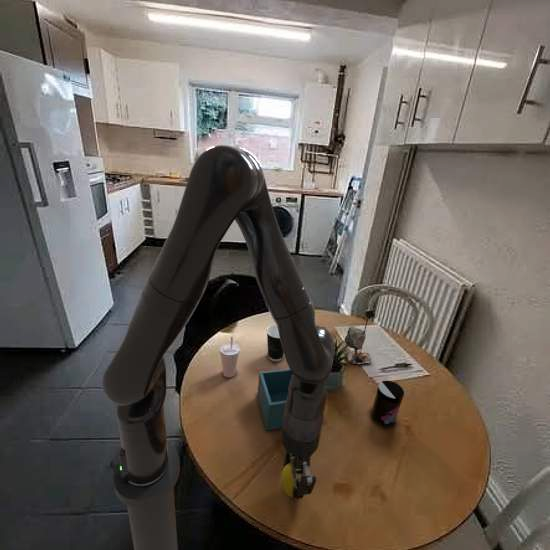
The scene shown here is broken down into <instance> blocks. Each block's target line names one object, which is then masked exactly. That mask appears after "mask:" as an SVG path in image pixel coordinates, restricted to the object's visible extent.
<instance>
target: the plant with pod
mask: <svg viewBox="0 0 550 550" xmlns="http://www.w3.org/2000/svg"><path fill="white" fill-rule="evenodd" d="M364 314H365V318H366V321H365V325H364V330H363V329H361V328H358V327H355V326H351V324H349V326H350V327H348V329H347V332H346V336H345V337H344V343H345V346H344V347H343V348H342V349H341V351H342V350H343V352H344V351H345V350H346V349H347V348H350V349H354V350H352V351H347V352H346V359H347V360H348V361H347V362H348V363H351V364H354V365H356V364H357V365H361V364H367V363H368V364H371V363H372V358H371V356H370V354H369V353H368V352H365V351H363V350H362V349H363V347H364V344H365V341H366V338H367V337H366V336H367V335H366V330H367V326H368V325H367V324H368V323H369V322H368V321H369V320H370V319H372V318H373V319H374V320H376V317H375V316H376V313H375V310H374V308H369V309H366V310H365V311H364Z"/></svg>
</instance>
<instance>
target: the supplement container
mask: <svg viewBox="0 0 550 550" xmlns="http://www.w3.org/2000/svg"><path fill="white" fill-rule="evenodd" d="M377 385H378V386H377V390H376V394H375V397H374V401H373V405H372V409H371V416H372V418H373V419H374V421H375V422H376V423H378V424H379V425H381V426H386V427H390V426H392V425H394V424H395V423H396V420H397V418H398V414H399V412H400V408H401V405H402V401H403V399H404V397H405V391H404V389H403V387H402V386H401V385H399V384H398V383H396V382H395V381H392V380H382V381H380V382H379V383H378V384H377Z"/></svg>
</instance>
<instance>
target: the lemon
mask: <svg viewBox="0 0 550 550" xmlns="http://www.w3.org/2000/svg"><path fill="white" fill-rule="evenodd" d="M296 470H301V469H296ZM279 481H280V486H281V489H282V491H283V493H284V494H285V495H286V496H288V497H290V498H293V495H292V493H293V487H294V477H293V475H292V471H291V463H288V464H287V465H286V466H285V467H283V468H282V471H281V473H280V480H279ZM298 481H300V478H298Z"/></svg>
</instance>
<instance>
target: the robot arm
mask: <svg viewBox="0 0 550 550" xmlns="http://www.w3.org/2000/svg"><path fill="white" fill-rule="evenodd" d="M234 222H235V223H236V224H237V226H238V228H239V230H240V232H241V234H242V236H243V238H244V242H245V245H246V247H247V250H248V253H249V256H250V260H251V265H252V268H253V274H254V278H255V280H256V283H257V286H258V289H259V292H260V295H261V297H262V299H263V301H264V303H265V305H266V307H267V309H268V311H269V313H270V315H271V317H272V319H273V321H274V323H275V325H277V328H278V332H279V337H280V341H281V344H282V348H283V352H284V354H283V356H284V358H285V361H286V364H287V366H288V369H290V370H291V371H292V373H293V375H292V378H291V381H290V384H289V388H288V395H287V403H286V406H285V410H284V416H283V424H282V428H281V432H280V433H281V434H280V441H281V444H282V447H283V448H284V452H283V453H284V456H285V457H284V463H283V466H284V467H285V466H286V465H287V464H288V463H291V471H292V475H293V477H294V487H293V493H292V495H293V497H292V498H293V499H295V500H299V499H303V498H304V496H307V495H312V493H313V490H314V487H315V485H316V482H317V476H316V475H315V474H311V458H312V456H313V455H314V454H315V453H316V451H317V450H318V448H319V444H320V439H321V434H322V428H323V424H324V413H323V411H324V412H325V407H326V402H327V396H326V391H327V392H328V379H329V376H330V374H331V372H332V370H333V364H334V357H335V351H336V342H335V340H334V337H333V334H332V333H331V332H330V331H329V330H328V329H327V328H326V327H325V326H321V325H316V309H315V305H314V302H313V300H312V299H311V296H310V294H309V291H308V290H307V287H306V285H305V283H304V280H303V278H302V276H301V274H300V272H299V270H298V268H297V266H296V264H295V261H294V259H293V256H292V254H291V252H290V251H289V247H288V246H287V242H286V240H285V239H284V235H283V233H282V231H281V229H280V226H279V222H278V219H277V217H276V213H275V211H274V207H273V204H272V200H271V198H270V193H269V189H268V186H267V182H266V178H265V173H264V171H263V167H262V165H261V163H260V161H259V160H258V158H257V157H256V156H255V155H253V153H251V152H250V151H248V150H246V149H245V148H241V147H237V146H233V145H227V144H218V145H214V146H211V147H209V148H207V149H205V150H204V151H203V152H202V153H201V154H200V155H199V156H198V157H197V158H196V160H195V161H194V163H193V165H192V167H191V169H190V173H189V175H188V178H187V182H186V184H185V188H184V191H183V195H182V198H181V201H180V205H179V207H178V211H177V214H176V216H175V219H174V222H173V225H172V227H171V229H170V232H169V233H168V236H167V238H166V240H165V241H164V243H163V246H162V248H161V250H160V253H159V254H158V257H157V259H156V261H155V263H154V265H153V267H152V269H151V271H150V273H149V275H148V278H147V280H146V283H145V284H144V287H143V289H142V290H141V294H140V297H139V299H138V301H137V304H136V306H135V309H134V311H133V314H132V317H131V319H130V322H129V325H128V327H127V331H126V333H125V335H124V338H123V340H122V342H121V344H120V345H119V348H118V349H117V351H116V353H115V355H113V357H112V359H111V361H110V363H109V364H108V365H107V366H106V368H105V370H104V371H103V374H102V377H101V388H102V391H103V393H104V395H105V397H106V399H108V401H110V402H111V403H112V404H114V405H116V407H115V417H116V422H117V429H118V435H119V436H118V437H119V442H120V447H116V448H115V452H114V457H113V460H112V461H110V463H109V467H110V468H111V469H112V471H113V472H112V473H113V475H114V474H117V473H122V475H123V481H124V484H130V485H131V486H133V487H137V488H144V487H148V486H151V485H153V484H155V483H157V482H158V481H159V480H160V479H161V478H162V477H163V476H164V475H165V473H166V471H167V469H168V465H169V459H168V444H167V443H168V441H167V440H168V439H167V429H166V428H167V427H166V415H165V401H166V397H167V365H166V360H165V357H164V356H165V354H166V353H167V351H168V350H169V348H170V347H171V346H172V345H173V343H174V342H175V341H176V339H177V338H178V337H179V335H180V334H181V332H182V331H183V330H184V328H185V327H186V325H188V322H189V321H190V319H191V317H192V316H193V315H194V313H195V311H196V309H197V307H198V305H199V303H200V302H201V300H202V298H203V296H204V294H205V292H206V290H207V287H208V285H209V281H210V278H211V273H212V267H213V263H214V259H215V255H216V252H217V250H218V248H219V246H220V245H221V244H220V243H222V240H223V239H224V237H225V236H226V234H227V232H228V231H229V229H230V227H231V226H232V225H233V223H234ZM324 327H325V328H326V329H325V328H324ZM325 401H326V402H325ZM324 406H325V407H324ZM284 467H283V468H284ZM296 469H301V470H296ZM298 478H300V481H298Z"/></svg>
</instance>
